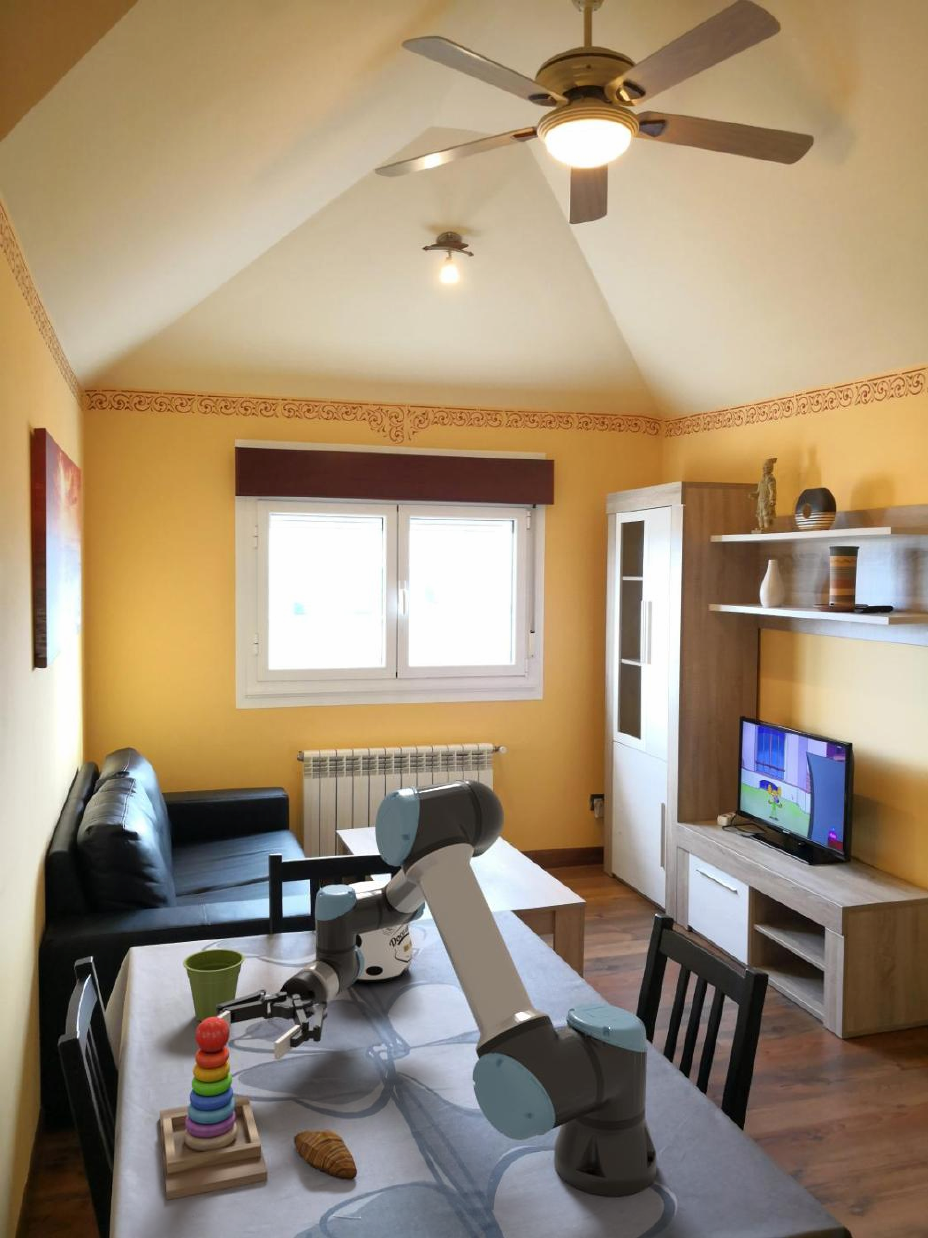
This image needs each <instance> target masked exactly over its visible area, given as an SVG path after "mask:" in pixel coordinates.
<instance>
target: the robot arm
mask: <svg viewBox="0 0 928 1238" xmlns="http://www.w3.org/2000/svg"><path fill="white" fill-rule="evenodd" d="M504 824H505V812H504V808H503V805H502V802H501V800H500V799H499V797H498V795H497V794H496V792H494V791H493V789H492V788H491V787H489V786H488V785H486V784H484V783H482V782H480V781H477V780H473V779H457V780H453V781H447V782H438V783H432V784H427V785H418V786H411V785H410V786H407V787H405V788H402V789H397V790H392V791H390V792H389V793H388V794H386V795H385V796H384V797H383V799H382V800H381V802H380V804H379V806H378V809H377V813H376V815H375V826H374V827H375V829H374V831H375V832H374V833H375V842H376V846H377V851H378V853H379V855H380V857H381V859H382V860H383V861H384V862H385V863H386V864H387V865H389V866H393V867H399V866H400V867H401V868H400V870H399V871H398V872H397V873H396V874H395V875H394V876H393V877H392V878H391V879H390V881H388V882H389V883H388V884H387V885H386V886H385V887H383V888H379V889H375V890H370V891H366V892H361V893H355V890H354V889H353V888H352V887H350V886H348V885H346V884H330V885H325V886H323V887H321V888H320V889H319V890H318V892H317V893H316V898H315V903H314V905H315V908H314V918H315V919H314V921H315V922H314V923H315V925H314V926H315V959H314V961H312V962H310V963H309V964H307V966H305V967H304V968H302V969H300V970H299V971H298V972H296V974H294V975H293V976H292V977H290V978H289V979H287V980H286V981H285V982H284V983H283V984H282V986H281V988H280V990H279V991H278V992H276V993H273V994H271V995H270V994H267V990H266V989H264V988H261V989H258V991H255V992H253V993H251V994H248V995H244V996H241V997H238V998H235V999H234V1000H231V1001H228V1002H225V1003H222V1004H218V1005H216V1017H219V1018H221V1019H223V1020H224V1021H225V1022H226V1023H227V1024H228V1026H229V1029H230V1028H231V1025H232V1024H235V1023H236V1024H237V1023H241V1022H246V1021H250V1020H255V1019H259V1018H263V1019H264V1020H267V1019H268V1020H269V1019H273V1018H279V1019H280V1018H281V1019H283V1020H293V1022H294V1026H293V1027H291V1028H290V1029H289V1030H287V1032H285V1033H284V1034H283V1035H282V1036H281V1037H279V1038H278V1039H277V1040H276V1041H274V1045H273V1046H274V1047H273V1048H274V1053H273V1054H274V1057H273V1058H274V1060H277V1061H279V1060H280V1059H282V1058H283V1057H284V1056H285V1055H287V1053H289V1052H290V1051H291V1050H292V1049H294V1048H298V1047H299V1046H300V1045H301V1044H303V1043H304V1042H308V1041H309V1040H311V1039H312V1041H313V1042H314V1043H315V1042H316V1043H318V1042H320V1041H321V1040H322V1032H323V1026H324V1021H325V1020H326V1019H327V1018H328V1003H329V1002H330V1001H332V1000H333V999H335V998H336V997H337V996H338V995H340V994H341V993H342V992H344V991H346V989H347V988H349V987H351V986H353V984H354V983H355V982H356V979H357V978H358V977H359V976H360V975H361V974H362V972H363V970H364V966H365V960H364V957H363V955H362V953H361V950H360V949H359V948H358V947H357V946H356V935H359V934H363V933H367V932H371V931H375V930H379V929H383V928H388V927H392V926H396V925H402V924H407V923H408V924H410V923H411V922H414V921H417V920H419V919H421V918H423V915H424V914H425V913H424V912H425V911H424V910H425V909H426V904H427V907H428V909H429V911H430V915H431V916H432V919H433V921H434V924H435V927H436V929H437V932H438V934H439V936H440V939H441V941H442V944H443V946H444V949H445V951H446V953H447V955H448V957H449V958H448V959H449V961H450V963H451V965H452V969H453V971H454V973H455V975H456V977H457V980H458V983H459V986H460V988H461V990H462V992H463V995H464V997H465V1000H466V1003H467V1004H468V1007H469V1010H470V1011H471V1014H472V1017H473V1019H474V1022H475V1025H476V1027H477V1029H478V1031H479V1038H478V1041H477V1044H476V1047H475V1053H476V1055H477V1057H478V1060H477V1061H476V1063H474V1066H473V1070H472V1071H473V1072H472V1081H473V1082H474V1084H473V1093H474V1095H475V1099H476V1101H477V1103H478V1104H477V1105H478V1106H479V1108H480V1110H481V1111H482V1114H483V1116H484V1117H485V1119H486V1120H487V1121H488V1122H489V1124H491V1126H492V1127H493V1128H494V1129H495V1130H496V1131H497V1132H499V1133H500V1134H502V1135H503V1136H505V1137H507V1138H509V1139H511V1140H515V1141H524V1140H527V1139H531V1138H533V1137H536V1136H537V1137H538V1136H544V1135H546V1134H547V1133H549V1132H550V1131H552V1130H553V1129H556V1128H558V1127H560V1128H559V1131H558V1134H557V1137H556V1139H555V1142H554V1147H553V1149H554V1151H553V1152H554V1153H553V1154H554V1155H553V1157H554V1159H553V1164H554V1168H555V1170H556V1171H557V1173H558V1175H559V1176H560V1177H561V1178H562V1179H563V1180H564V1181H565V1182H566V1183H567V1184H569V1185H571V1186H572V1187H574V1188H576V1189H578V1190H581V1191H583V1192H586V1193H588V1194H589V1193H590V1194H592V1195H593V1194H594V1195H596V1196H605V1197H621V1196H627V1195H632V1194H635V1193H638V1192H640V1191H643V1190H644V1189H646V1188H647V1187H648V1186H649V1185H651V1184H652V1183H653V1181H654V1180H655V1178H656V1176H657V1165H658V1163H657V1162H658V1160H657V1159H658V1158H657V1157H658V1156H657V1151H656V1148H655V1144H654V1142H653V1138H652V1134H651V1131H650V1128H649V1125H648V1122H647V1119H646V1100H647V1099H646V1098H647V1095H646V1094H647V1092H646V1091H647V1059H648V1058H647V1057H648V1056H647V1055H648V1045H647V1032H646V1026H645V1024H644V1022H643V1021H642V1020H641V1019H640V1018H639V1017H638V1016H637V1015H636V1014H634V1013H632V1012H630V1011H629V1010H626V1009H623V1008H620V1007H618V1006H614V1005H610V1004H604V1003H596V1002H595V1003H591V1002H590V1003H589V1002H587V1003H579V1004H577V1005H576V1004H575V1005H574V1006H572V1007H571V1008H569V1009H568V1012H567V1016H566V1018H565V1021H566V1026H565V1027H564V1028H560V1029H557V1030H556V1028H555V1026H554V1024H553V1022H552V1019H551V1017H550V1015H549V1014H548V1013H546V1012H544V1011H541V1010H538V1009H536V1008H535V1007H534V1005H533V1003H532V1000H531V999H530V996H529V994H528V992H527V989H526V987H525V984H524V983H523V981H522V978H521V976H520V973H519V972H518V969H517V966H516V964H515V962H514V961H513V957H512V955H511V953H510V951H509V949H508V947H507V945H506V941H505V940H504V937H503V934H502V933H501V931H500V929H499V926H498V924H497V922H496V919H495V918H494V916H493V913H492V909H490V907H489V904H488V901H487V900H486V897H485V895H484V893H483V890H482V887H481V886H480V884H479V882H478V879H477V877H476V875H475V872H474V871H473V867H472V866H471V859H472V858H473V859H474V858H478V857H481V856H482V855H483V854H485V853H486V851H488V850H489V849H490V848H491V847H492V846H493V845H494V844H495V843H496V842H497V840H498V839H499V837H500V836H501V834H502V831H503V829H504ZM268 1004H269V1005H268ZM268 1006H269V1009H270V1010H269V1011H270V1012H269V1011H268ZM312 1016H314V1019H313V1026H310V1020H308V1019H310V1018H312Z"/></svg>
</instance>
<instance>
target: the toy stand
mask: <svg viewBox="0 0 928 1238" xmlns="http://www.w3.org/2000/svg"><path fill="white" fill-rule="evenodd" d="M232 1098H233V1099H234V1102H235V1108H234V1112H235V1116H236V1119H235V1123H236V1125H237V1129H238V1131H237V1135H236V1137H235V1139H234V1140H233V1141H232V1142H231V1143H230V1144H229V1145H227V1146H225V1147H223V1148H221V1149H217V1150H212V1151H198V1150H195V1149H192V1148H190V1147H189V1146H188V1145H187V1144H186V1143H185V1141H184V1132H185V1130H186V1127H185V1120H186V1117H187V1115H188V1106H189V1105H185V1106H181V1107H175V1108H174V1107H173V1108H168V1109H162V1110H161V1109H160V1110H159V1125H160V1126H159V1127H160V1137H161V1147H162V1159H163V1168H164V1169H163V1170H164V1171H163V1172H164V1180H165V1191H166V1192H165V1193H166V1201H169V1200H175V1199H178V1198H179V1199H180V1198H184V1197H188V1196H193V1195H198V1194H204V1193H209V1192H214V1191H218V1190H219V1191H220V1190H222V1189H228V1188H234V1187H239V1186H245V1185H249V1184H254V1183H258V1182H262V1181H263V1182H264V1181H268V1180H269V1179H268V1168H267V1165H266V1161H265V1158H264V1157H265V1156H264V1153H263V1149H262V1145H261V1144H262V1143H261V1139H260V1135H259V1133H258V1128H257V1125H256V1121H255V1117H254V1114H253V1110H252V1105H251V1102H250V1099H249V1096H248V1095H244V1096H238V1097H232Z"/></svg>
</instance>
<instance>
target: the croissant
mask: <svg viewBox="0 0 928 1238" xmlns="http://www.w3.org/2000/svg"><path fill="white" fill-rule="evenodd" d="M293 1137H294V1138H293V1142H294V1146H295V1149H296V1152H297V1153H298V1154H299V1156H300V1157H301V1158H303V1160H304V1161H305V1162H306V1163H307V1165H308V1166H309V1167H311V1169H314V1170H316V1171H318V1172H321V1173H324V1174H327V1175H328V1176H329V1177H333V1178H335V1179H340V1180H343V1181H352V1180H354V1179H355V1178H356V1177H357V1174H358V1170H357V1166H356V1163H355V1160H354V1157H353V1155H352V1154H351V1152H350V1149H349V1148H348V1147H347V1145H346V1144H345V1142H344V1139H343V1138H342V1137H341V1136H340V1135H339V1134H338V1133H337V1132H336V1131H332V1130H330V1129H327V1130H306V1131H302V1132H299V1133H297V1134H295V1135H294V1136H293Z"/></svg>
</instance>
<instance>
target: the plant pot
mask: <svg viewBox="0 0 928 1238" xmlns="http://www.w3.org/2000/svg"><path fill="white" fill-rule="evenodd" d="M244 961H245V955H244V954H243V953H242V952H240V951H238V950H234V949H228V948H213V949H205V950H201V951H197V952H194V953H192V954H190V955H188V956H186V957H185V958H184V959H183V961H182V965H183V967H184V968H185V970H186V975H187V978H188V980H189V984H190V990H191V997H192V1003H193V1009H194V1013H195V1018H196V1020H198V1021H201V1022H202V1021H204V1020H205V1019H207V1018H210V1017H216V1005H218V1004H222V1003H225V1002H228V1001H231V1000H234V999H236V995H237V987H238V981H239V975H240V974H241V968H242V964H243V963H244Z"/></svg>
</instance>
